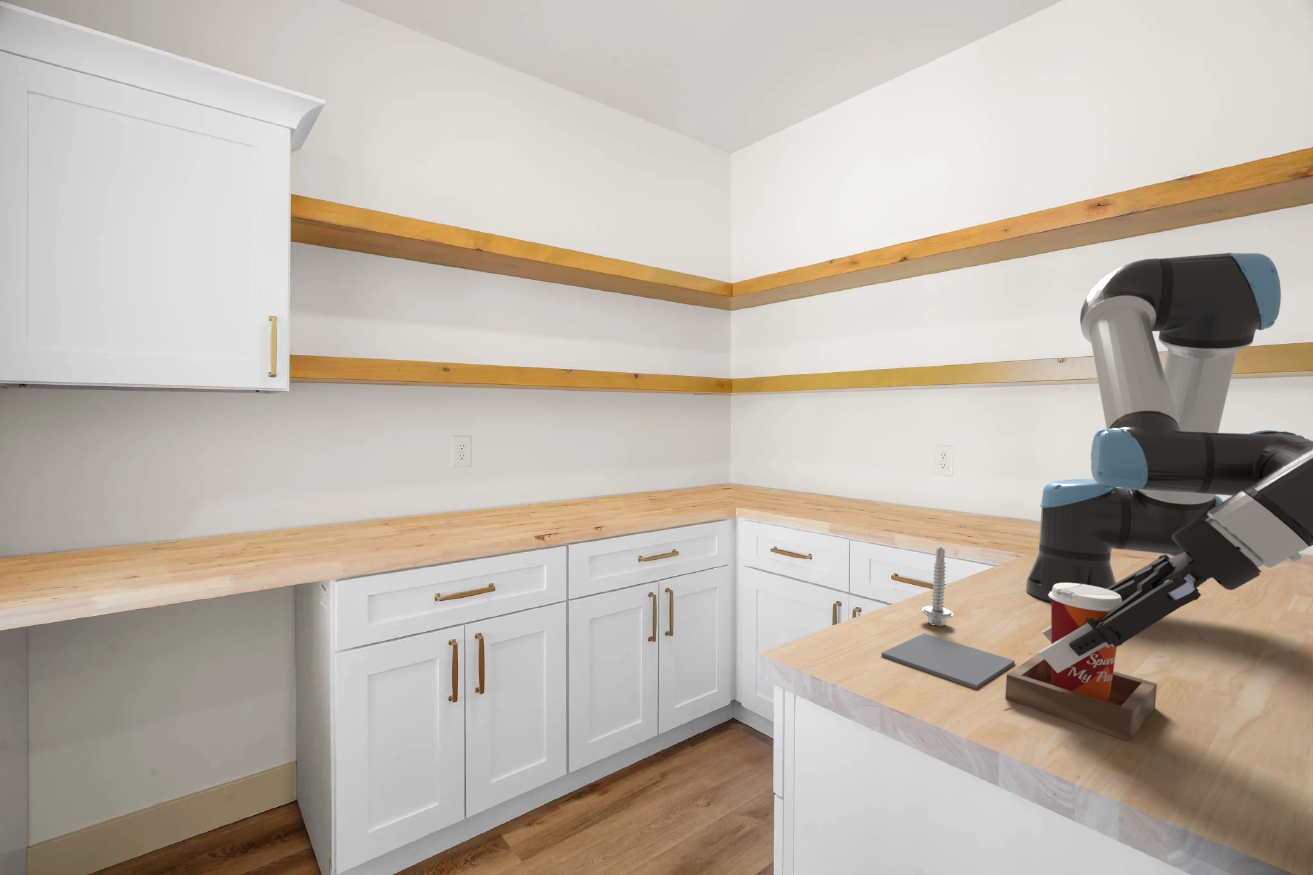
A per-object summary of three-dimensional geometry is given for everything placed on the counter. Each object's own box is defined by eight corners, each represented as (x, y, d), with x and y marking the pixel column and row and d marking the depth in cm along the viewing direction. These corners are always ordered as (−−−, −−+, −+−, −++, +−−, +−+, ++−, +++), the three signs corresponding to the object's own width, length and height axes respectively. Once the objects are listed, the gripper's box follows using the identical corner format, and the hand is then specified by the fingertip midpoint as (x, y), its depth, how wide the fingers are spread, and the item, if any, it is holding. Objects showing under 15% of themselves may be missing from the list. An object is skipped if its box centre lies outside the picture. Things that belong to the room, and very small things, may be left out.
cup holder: (1040, 672, 84) (1041, 651, 84) (1155, 707, 75) (1156, 683, 74) (1005, 698, 76) (1006, 674, 76) (1129, 741, 66) (1131, 714, 66)
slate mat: (924, 636, 96) (924, 633, 96) (1014, 663, 87) (1014, 660, 87) (881, 655, 88) (881, 652, 88) (976, 689, 78) (976, 685, 78)
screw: (958, 626, 102) (941, 631, 99) (931, 617, 106) (914, 621, 103) (962, 548, 101) (946, 551, 99) (935, 542, 105) (918, 545, 103)
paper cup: (1084, 722, 70) (1091, 601, 70) (1027, 691, 78) (1034, 582, 77) (1135, 715, 73) (1143, 598, 72) (1075, 686, 80) (1082, 580, 79)
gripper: (1293, 593, 57) (1073, 710, 67) (1242, 553, 74) (1073, 651, 84) (1221, 528, 60) (1020, 650, 70) (1188, 505, 77) (1030, 605, 87)
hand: (1049, 650), depth 77 cm, fingers open, 8 cm apart
